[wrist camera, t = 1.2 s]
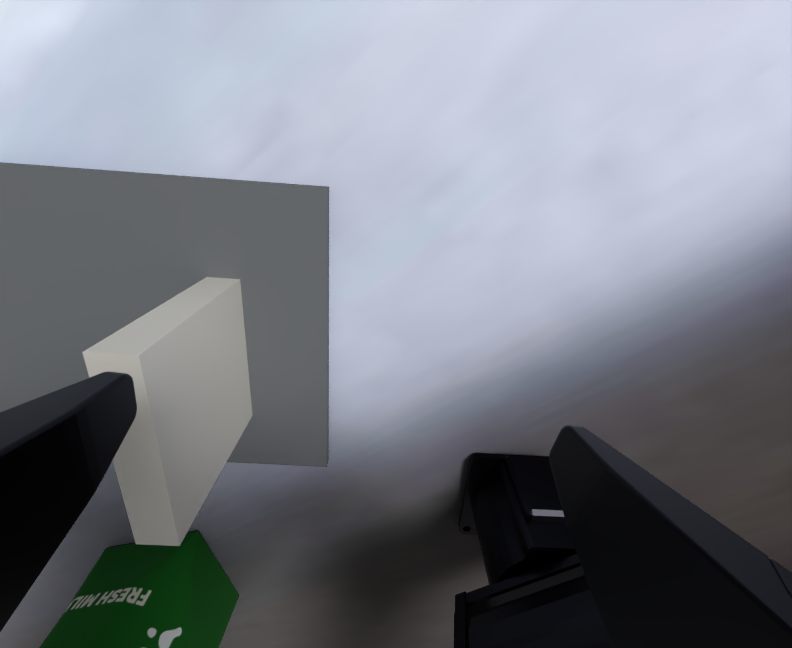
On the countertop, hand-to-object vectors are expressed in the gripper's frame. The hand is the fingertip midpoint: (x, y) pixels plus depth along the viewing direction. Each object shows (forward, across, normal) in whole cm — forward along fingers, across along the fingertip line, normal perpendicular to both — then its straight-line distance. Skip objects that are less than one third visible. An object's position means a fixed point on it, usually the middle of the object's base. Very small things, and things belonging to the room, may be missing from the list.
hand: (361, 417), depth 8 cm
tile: (+11, +6, +6) cm, 14 cm away
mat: (+12, +11, +6) cm, 18 cm away
